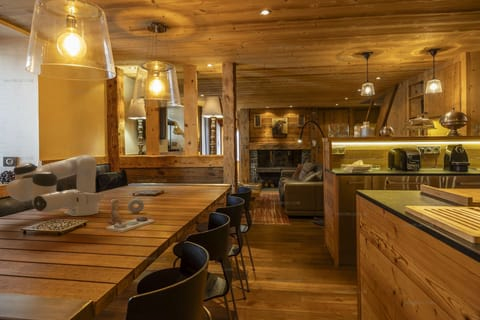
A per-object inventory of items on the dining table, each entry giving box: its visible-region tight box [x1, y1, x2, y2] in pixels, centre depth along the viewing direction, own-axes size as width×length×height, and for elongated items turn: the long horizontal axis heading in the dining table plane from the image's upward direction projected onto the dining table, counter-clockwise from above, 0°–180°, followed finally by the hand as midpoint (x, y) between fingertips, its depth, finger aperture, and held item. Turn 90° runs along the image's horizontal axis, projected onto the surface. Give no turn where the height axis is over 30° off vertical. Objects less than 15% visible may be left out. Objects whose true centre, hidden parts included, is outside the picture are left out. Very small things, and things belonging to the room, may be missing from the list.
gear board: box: [105, 215, 156, 233], centre depth 165 cm, size 12×24×4 cm, turn 154°
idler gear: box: [107, 198, 123, 225], centre depth 170 cm, size 7×7×14 cm
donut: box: [127, 197, 145, 214], centre depth 196 cm, size 10×4×10 cm, turn 104°
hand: (96, 194), depth 158 cm, fingers open, 8 cm apart
